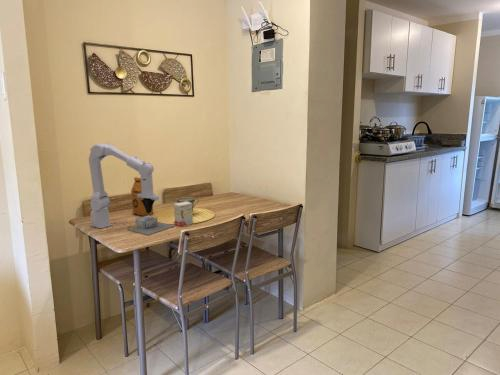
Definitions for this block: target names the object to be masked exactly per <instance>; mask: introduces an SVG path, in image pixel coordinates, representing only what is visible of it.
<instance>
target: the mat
mask: <svg viewBox="0 0 500 375" xmlns="http://www.w3.org/2000/svg"><path fill="white" fill-rule="evenodd" d="M175 227H176V225H175V224H174V225H173V224H170V223H169V224H168V223H164V222H159V221H158V225H157V226H154V227H150V228H147V229H144V228H140V227H137V226H134V227H131V228H128V229H127V231H128V232H132V233H136V234H139V235H140V234H141V235H145V236H151V235H153V234H156V233H160V232H162V231H163V232H164V231H165V230H169V229H172V228H175Z"/></svg>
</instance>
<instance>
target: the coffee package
mask: <svg viewBox="0 0 500 375" xmlns="http://www.w3.org/2000/svg"><path fill="white" fill-rule="evenodd" d="M133 180H134V183H133V185H132V187H131V190H130V191H131V192H130V193H131V207H132V212H133V213H132V214H135V215H138V216H140V217H143V216H147V215H148V216H152V215H154V209H153V208H154V207H153V206H154V205H153V206H152V211H151V213H147V212H146V209H145V207H144V205H143V203H142V202H141V200H143V198H137V194H142V188H141V177H137V176H135V177H133Z"/></svg>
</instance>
